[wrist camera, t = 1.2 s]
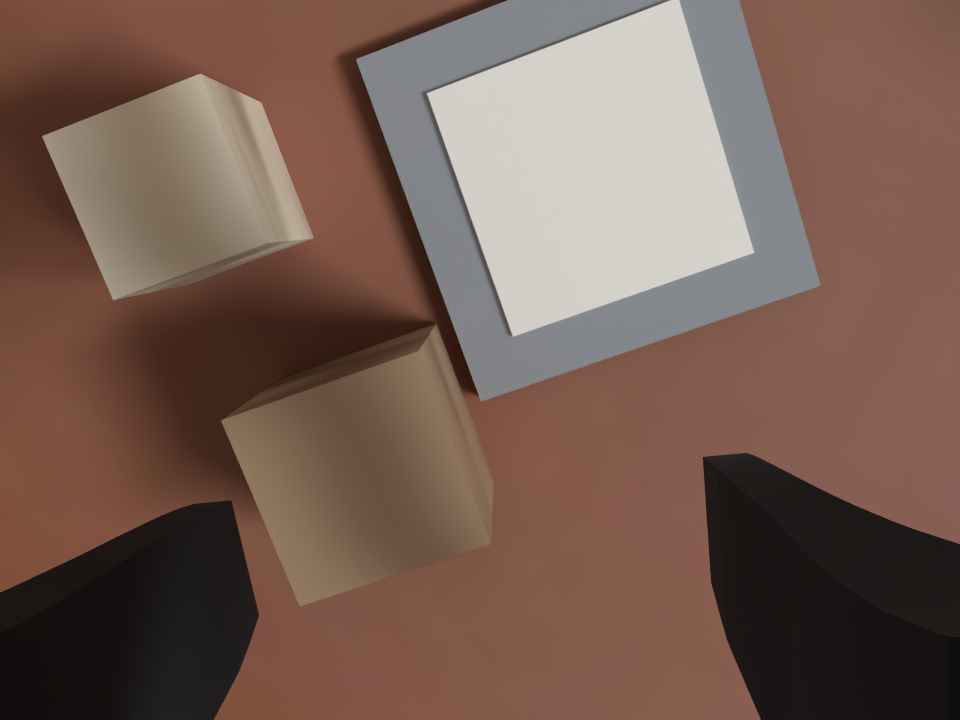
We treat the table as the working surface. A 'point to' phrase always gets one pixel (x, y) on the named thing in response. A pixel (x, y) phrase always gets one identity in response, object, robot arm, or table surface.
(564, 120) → the mat
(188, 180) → the maple block
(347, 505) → the walnut cube
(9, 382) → the table surface
